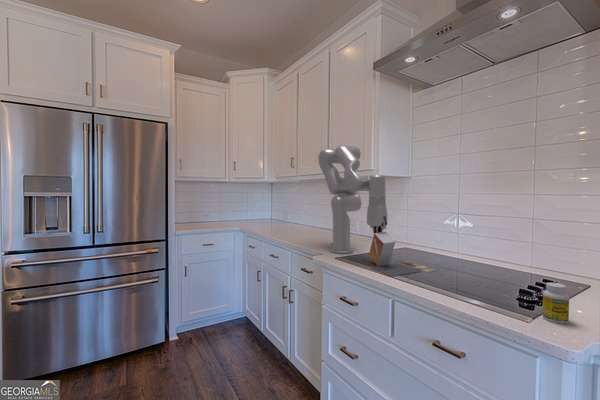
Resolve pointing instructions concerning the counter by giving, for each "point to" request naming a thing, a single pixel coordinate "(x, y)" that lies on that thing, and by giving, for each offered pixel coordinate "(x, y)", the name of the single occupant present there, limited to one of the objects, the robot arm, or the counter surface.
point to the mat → (395, 269)
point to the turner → (418, 266)
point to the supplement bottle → (556, 303)
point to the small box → (381, 248)
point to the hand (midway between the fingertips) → (377, 240)
